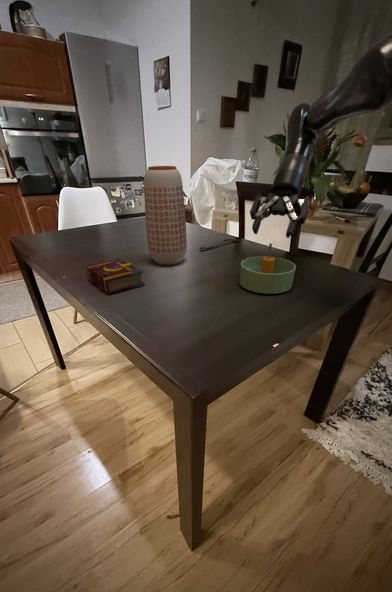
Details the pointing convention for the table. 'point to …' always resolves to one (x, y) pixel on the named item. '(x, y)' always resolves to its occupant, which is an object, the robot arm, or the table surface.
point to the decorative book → (114, 275)
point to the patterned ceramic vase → (165, 215)
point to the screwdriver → (268, 263)
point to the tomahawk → (220, 244)
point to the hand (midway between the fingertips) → (270, 234)
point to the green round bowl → (267, 275)
